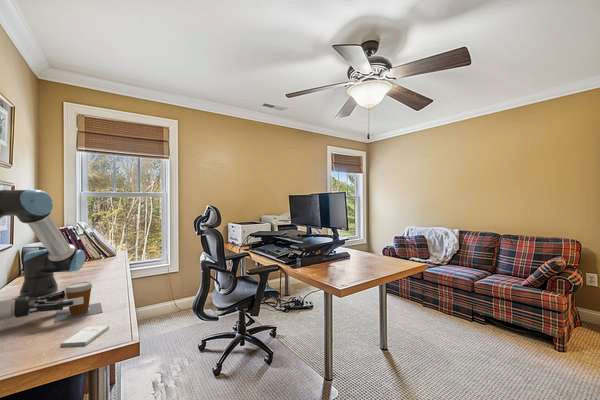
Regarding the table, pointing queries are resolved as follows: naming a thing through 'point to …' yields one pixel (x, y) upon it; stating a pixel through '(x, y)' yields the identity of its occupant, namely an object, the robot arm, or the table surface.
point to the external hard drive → (85, 336)
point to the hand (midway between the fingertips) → (83, 295)
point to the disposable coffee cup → (79, 291)
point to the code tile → (66, 315)
